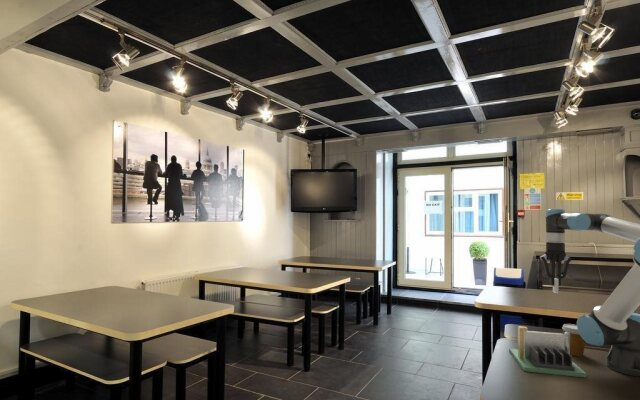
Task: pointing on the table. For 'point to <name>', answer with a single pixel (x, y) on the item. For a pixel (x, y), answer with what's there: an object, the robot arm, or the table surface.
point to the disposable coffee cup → (574, 340)
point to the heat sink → (547, 354)
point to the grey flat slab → (542, 341)
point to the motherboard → (528, 366)
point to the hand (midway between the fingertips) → (555, 292)
